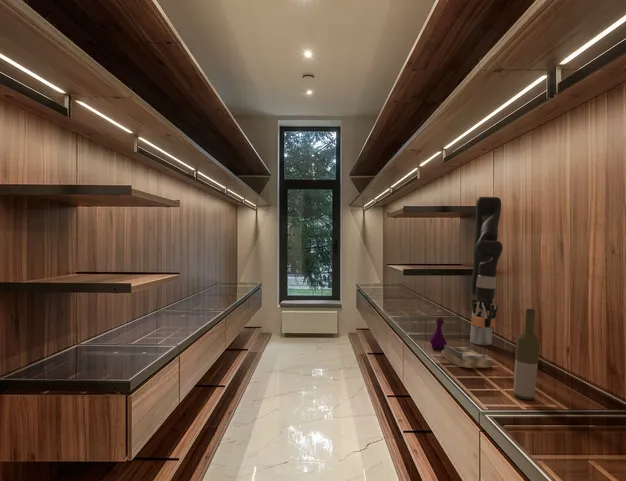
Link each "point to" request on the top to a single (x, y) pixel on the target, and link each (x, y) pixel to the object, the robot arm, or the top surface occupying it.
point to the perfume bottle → (438, 334)
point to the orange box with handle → (481, 322)
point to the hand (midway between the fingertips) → (482, 325)
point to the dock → (465, 357)
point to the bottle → (526, 360)
